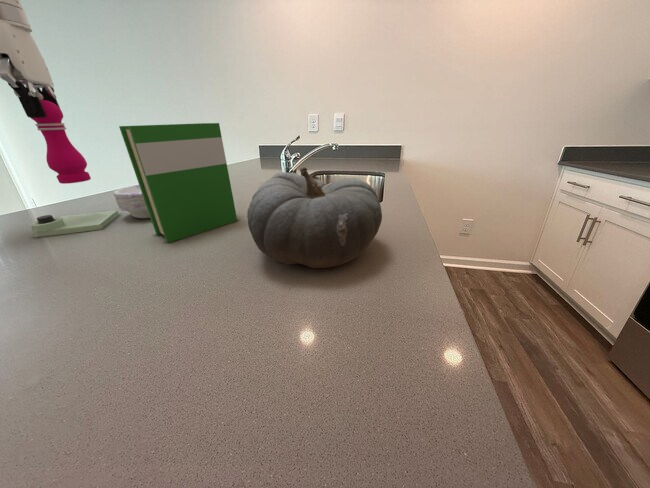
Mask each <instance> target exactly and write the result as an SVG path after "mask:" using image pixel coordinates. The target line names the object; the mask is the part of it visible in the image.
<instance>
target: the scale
mask: <svg viewBox="0 0 650 488" xmlns="http://www.w3.org/2000/svg"><path fill="white" fill-rule="evenodd" d="M119 215H120V214H119V211H118V210H117V209H116V210H108V211H106V210H105V211H99V212H88V213H79V214H78V213H77V214H70V215H69V214H68V215H61V216H60V215H59V216H57V217H53V218H54V220H55V221H53V222H49V223H45V224H39V222H38V221H37V220H35V221H33V222H32V223H30V227H31V229H32V231H31V232H30V233H31V235H32V237H33V238H43V237H49V236H50V237H51V236H57V235H58V236H59V235H66V234H67V235H68V234H75V233H76V234H77V233H83V232H91V231H99V230H103V229H104V228H105V227H106V226H108V225H109V224H110V223H111V222H112V221H114V220H115V219H116V218H117V217H118V216H119Z"/></svg>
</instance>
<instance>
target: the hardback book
mask: <svg viewBox="0 0 650 488" xmlns="http://www.w3.org/2000/svg"><path fill="white" fill-rule="evenodd" d="M220 126H221V125H220V123H219V122H207V123H206V122H202V123H201V122H199V123H198V122H197V123H174V124H173V123H172V124H170V123H169V124H146V125H144V124H143V125H142V124H141V125H119V126H118V128H119V130H120V133H121V137H122V139H123V142H124V145H125V148H126V152H127V153H128V156H129V160H130V162H131V163H130V164H131V165H132V168H133V171H134V174H135V177H136V180H137V183H138V185H139V186H140V189H141V192H142V194H143V197H144V200H145V203H146V206H147V209H148V212H149V215H150V218H149V219H150V220H151V223H152V226H153V230H154V232H155V235H156V236H164V238H165V241H166V243H168V244H170V243H172V242H176V241H179V240H182V239H186V238H188V237H190V236H191V237H192V236H194V235H197V234H201V233H203V232H207V231H210V230H213V229H215V228H219V227H223V226H225V225H229V224H231V223H234V222H237V221H238V217H237V216H238V215H237V211H236V206H235V201H234V195H233V190H232V184H231V180H230V174H229V169H228V164H227V163H228V162H227V158H226V152H225V147H224V142H223V137H222V131H221V127H220Z"/></svg>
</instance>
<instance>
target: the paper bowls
mask: <svg viewBox="0 0 650 488" xmlns="http://www.w3.org/2000/svg"><path fill="white" fill-rule="evenodd" d="M113 196H114V198H115V202H116V205H117V207H118V208H119V209H118V210H120V211H122V212H128V213H129V214H130V215H131V216H132V217H134V218H138V219H151V218H150V215H149V212H148V209H147V206H146V203H145V200H144V197H143V194H142V192H141V189H140V186H139V184H135V185H130V186H125V187H122V188H118V189H116V190H114V191H113Z"/></svg>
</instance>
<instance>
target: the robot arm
mask: <svg viewBox="0 0 650 488" xmlns="http://www.w3.org/2000/svg"><path fill="white" fill-rule="evenodd" d="M31 33H33V29H32V27H31V25H30V22H29V20H28V18H27V15H26V12H25V11H24V8H23V5H22V3H21V1H20V0H0V79H1V80H3V81H5V82H6V83H7V85H8V86H9V87H10V88H11V89H12V90H13V93H14V94H15V96H16V97H17V98H18V100H19V103H20V104H21V106H22V109H23V111H24V113H25V115H26V116H27V117H28V118H30V119H31V118H38V117H47V116H46V113H45V111H44V109H43V107H42V104H41V102H40V100H39V98H38V97H34V96H35V94H34V92H38V93H40V94H42V96H43V100H46V101H50V102H52V103H54V104H56V105H57V106H58V107H59V108H60V109H61V107H60V104H59V102H58V100H57V95H56V93H55V89H54V87H55V84H54V81H53V79H52V76H51V73H50V70H49V68H48V66H47V64H46V61H45V59H44V57H43V55H42V53H41V50H40V49H39V47H38V45H37V43H36V41H35V39H34V38H33V36H32V34H31Z"/></svg>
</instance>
